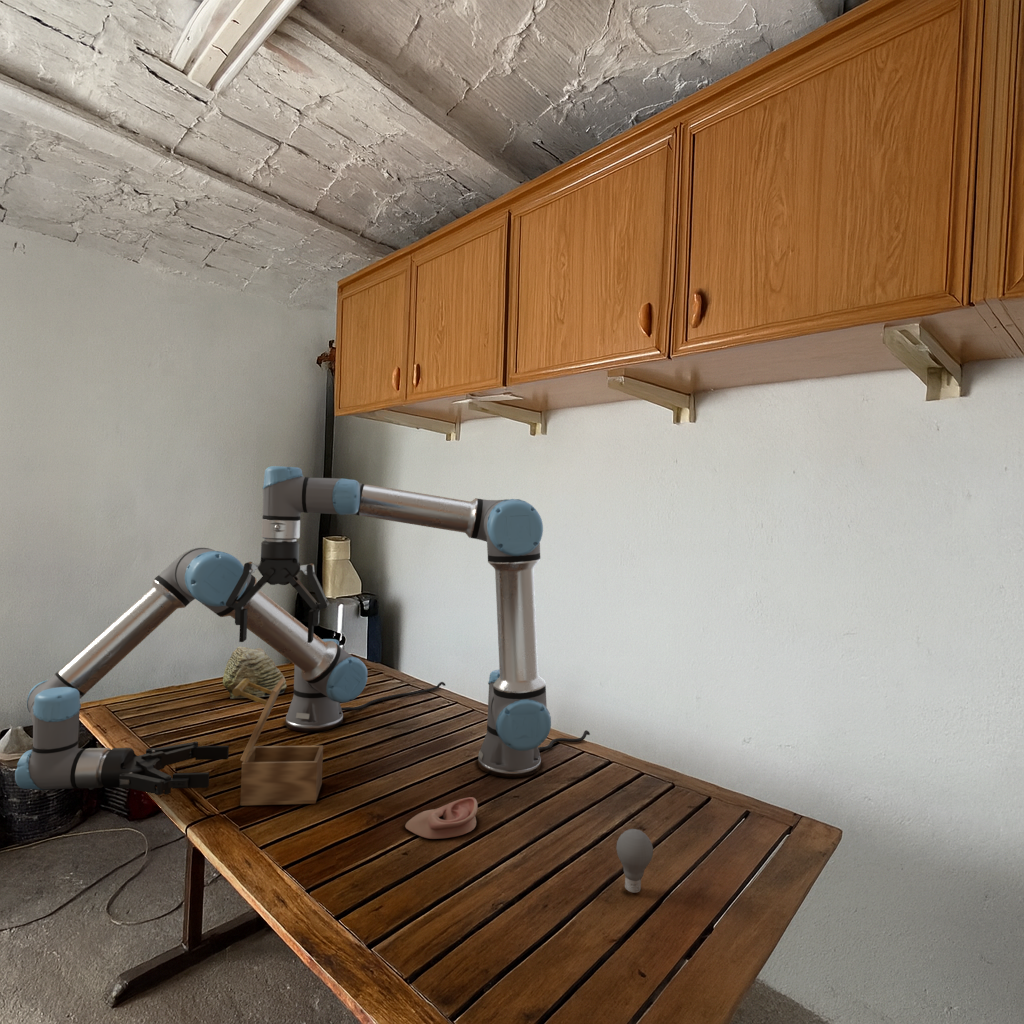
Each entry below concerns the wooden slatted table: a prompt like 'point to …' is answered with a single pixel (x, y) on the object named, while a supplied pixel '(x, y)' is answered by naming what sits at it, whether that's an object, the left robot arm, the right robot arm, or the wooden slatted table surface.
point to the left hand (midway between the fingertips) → (219, 765)
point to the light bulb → (634, 857)
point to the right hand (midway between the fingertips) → (276, 641)
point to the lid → (267, 709)
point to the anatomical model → (445, 820)
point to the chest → (282, 775)
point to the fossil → (251, 671)
